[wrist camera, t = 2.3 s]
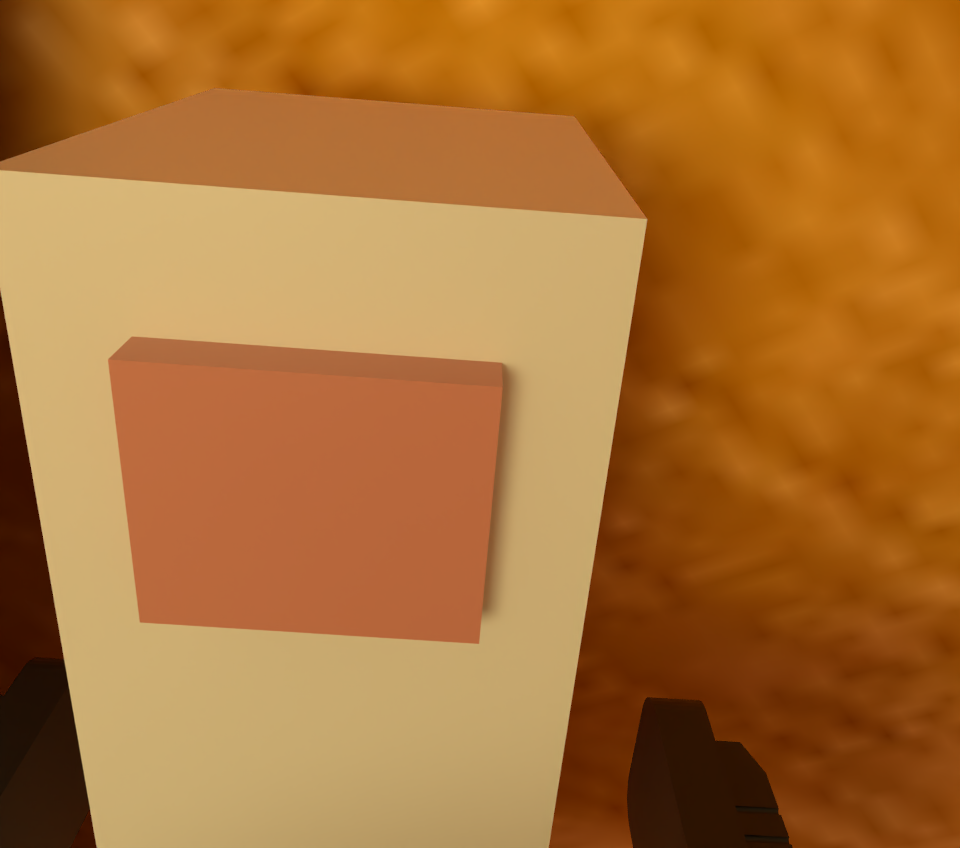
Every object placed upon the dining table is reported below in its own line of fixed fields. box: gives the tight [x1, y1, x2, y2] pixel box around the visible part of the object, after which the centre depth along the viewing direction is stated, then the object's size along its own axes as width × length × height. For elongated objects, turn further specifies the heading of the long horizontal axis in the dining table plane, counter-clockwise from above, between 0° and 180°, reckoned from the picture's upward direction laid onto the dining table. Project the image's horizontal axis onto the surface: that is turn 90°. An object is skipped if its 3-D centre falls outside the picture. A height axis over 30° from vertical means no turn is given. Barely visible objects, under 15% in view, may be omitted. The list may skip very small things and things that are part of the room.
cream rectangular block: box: [0, 88, 647, 848], centre depth 12 cm, size 16×4×8 cm, turn 176°
